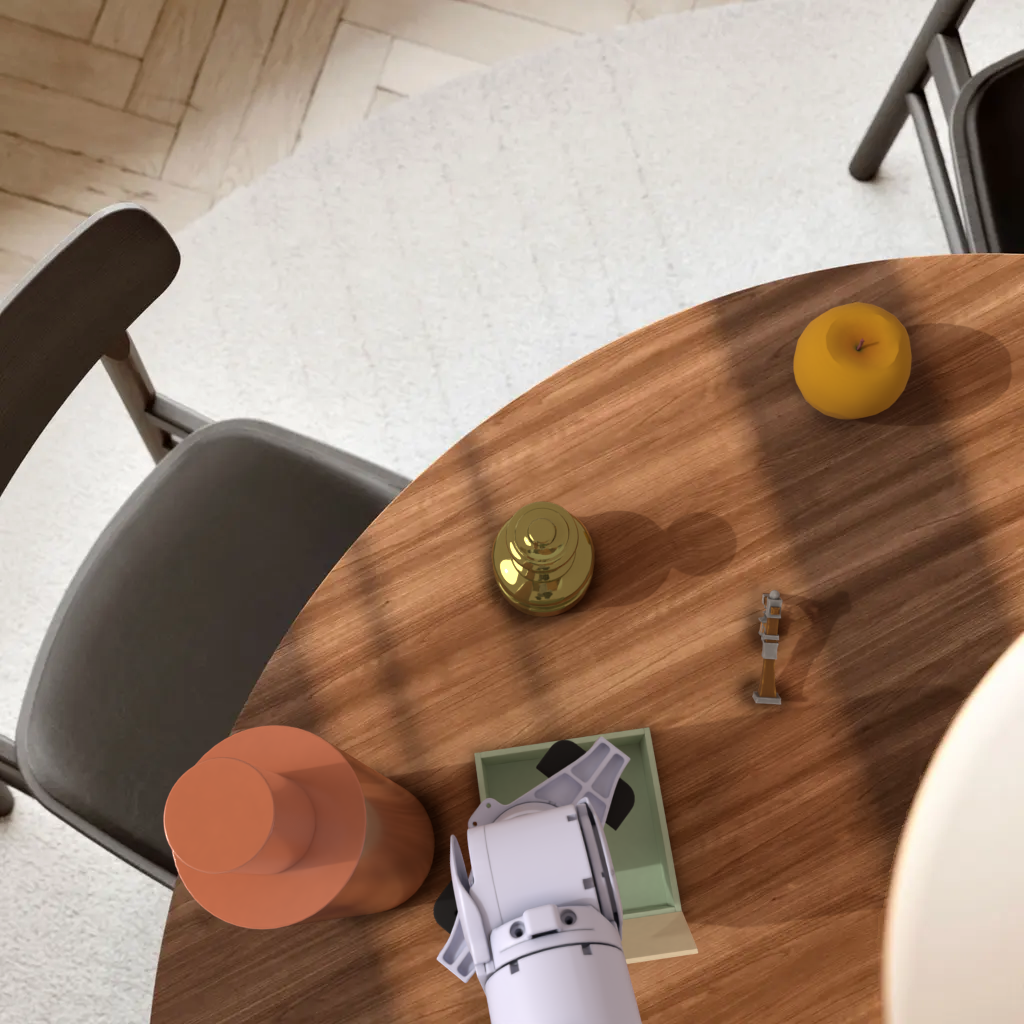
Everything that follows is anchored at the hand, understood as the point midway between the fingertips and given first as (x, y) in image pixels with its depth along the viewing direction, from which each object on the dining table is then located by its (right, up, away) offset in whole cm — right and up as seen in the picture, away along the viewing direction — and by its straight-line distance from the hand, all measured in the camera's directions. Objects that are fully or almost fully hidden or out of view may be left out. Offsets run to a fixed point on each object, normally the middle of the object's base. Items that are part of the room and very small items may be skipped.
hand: (534, 844), depth 71 cm
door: (+4, -6, -1) cm, 7 cm away
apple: (+24, +30, +20) cm, 43 cm away
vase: (-11, -3, +11) cm, 16 cm away
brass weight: (+1, +16, +16) cm, 23 cm away
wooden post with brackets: (+17, +10, +14) cm, 24 cm away
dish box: (+3, -2, +10) cm, 11 cm away
